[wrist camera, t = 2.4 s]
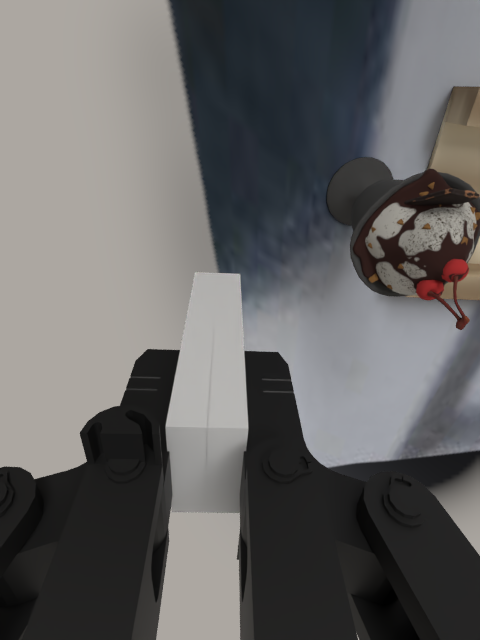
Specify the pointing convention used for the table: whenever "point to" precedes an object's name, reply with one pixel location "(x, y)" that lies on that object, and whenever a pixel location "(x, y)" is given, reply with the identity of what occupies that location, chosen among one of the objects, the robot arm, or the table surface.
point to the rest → (461, 168)
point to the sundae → (407, 228)
